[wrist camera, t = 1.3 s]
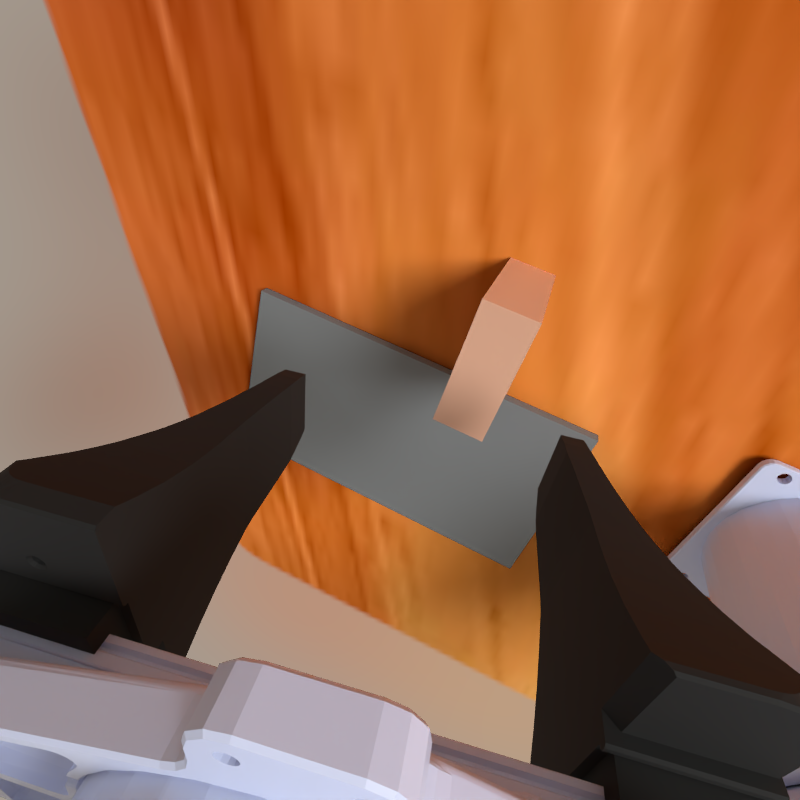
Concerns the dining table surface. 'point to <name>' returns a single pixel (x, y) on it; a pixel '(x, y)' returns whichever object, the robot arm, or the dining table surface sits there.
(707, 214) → the dining table surface
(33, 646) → the robot arm
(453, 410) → the tile
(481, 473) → the mat
